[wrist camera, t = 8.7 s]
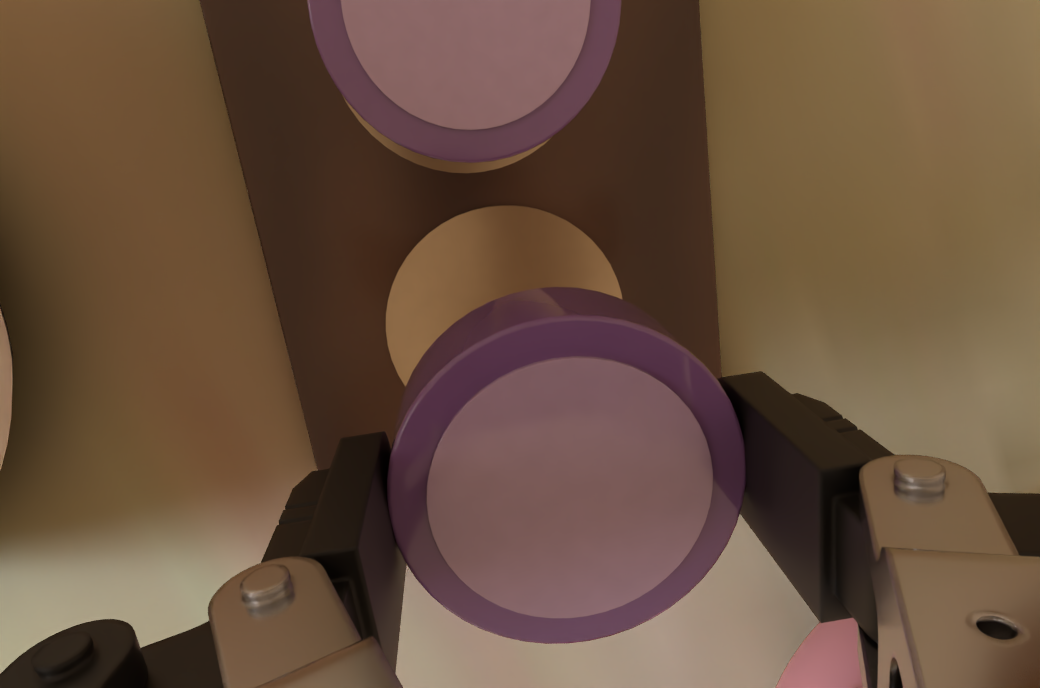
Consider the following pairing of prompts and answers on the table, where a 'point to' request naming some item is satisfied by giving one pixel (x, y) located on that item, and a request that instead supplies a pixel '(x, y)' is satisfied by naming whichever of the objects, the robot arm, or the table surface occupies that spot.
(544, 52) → the purple stepped cylinder
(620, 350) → the dish top
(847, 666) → the pink piggy bank
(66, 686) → the robot arm
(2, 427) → the white black spotted canister
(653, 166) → the brown board with circles
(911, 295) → the table surface
